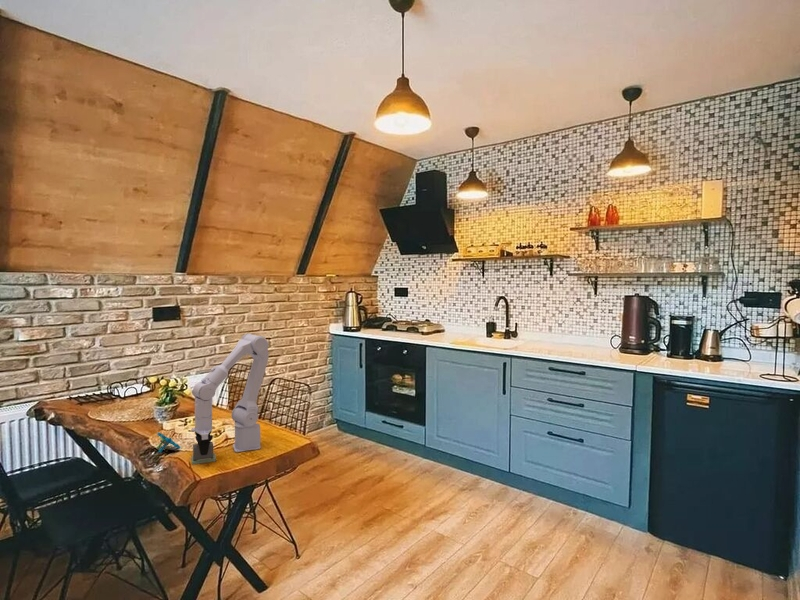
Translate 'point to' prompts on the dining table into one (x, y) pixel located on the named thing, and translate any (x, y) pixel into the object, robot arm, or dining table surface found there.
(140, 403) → the dining table surface
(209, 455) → the plug housing
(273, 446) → the dining table surface
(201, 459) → the header board
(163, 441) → the teal plastic t-shaped piece
